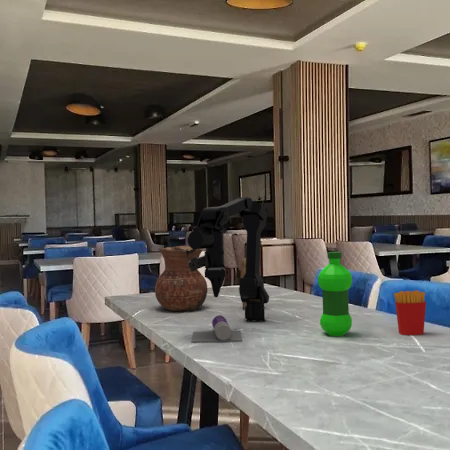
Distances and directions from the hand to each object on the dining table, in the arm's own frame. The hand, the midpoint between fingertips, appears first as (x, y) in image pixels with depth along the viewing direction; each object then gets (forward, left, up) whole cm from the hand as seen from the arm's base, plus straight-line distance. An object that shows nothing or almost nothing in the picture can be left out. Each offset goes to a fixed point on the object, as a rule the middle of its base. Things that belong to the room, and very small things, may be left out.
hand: (215, 297), depth 165 cm
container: (-1, -4, -9) cm, 10 cm away
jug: (+14, -47, -12) cm, 50 cm away
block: (-14, -44, -12) cm, 47 cm away
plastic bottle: (-37, +5, -12) cm, 39 cm away
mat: (0, +5, -12) cm, 12 cm away
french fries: (-59, +7, -12) cm, 60 cm away
